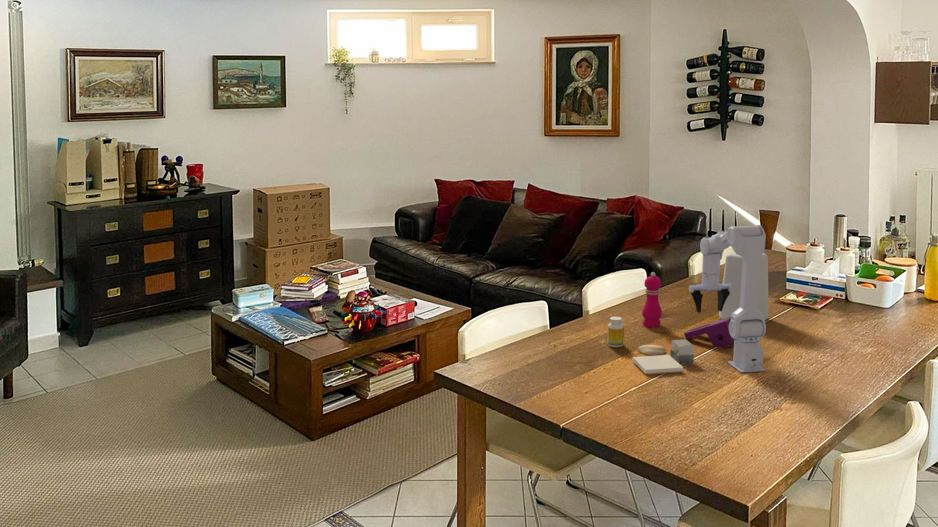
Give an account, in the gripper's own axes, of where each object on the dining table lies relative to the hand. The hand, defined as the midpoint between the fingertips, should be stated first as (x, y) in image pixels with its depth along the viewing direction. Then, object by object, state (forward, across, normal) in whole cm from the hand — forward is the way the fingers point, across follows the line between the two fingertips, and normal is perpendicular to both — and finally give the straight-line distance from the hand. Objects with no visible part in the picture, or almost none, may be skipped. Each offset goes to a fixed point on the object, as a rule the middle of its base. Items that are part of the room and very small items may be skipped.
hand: (709, 311), depth 279 cm
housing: (+10, +17, +19) cm, 27 cm away
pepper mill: (+10, +13, -20) cm, 26 cm away
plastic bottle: (+10, -23, -21) cm, 33 cm away
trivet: (+10, +27, +24) cm, 38 cm away
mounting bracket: (+11, 0, +2) cm, 11 cm away
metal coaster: (+10, +23, +8) cm, 26 cm away
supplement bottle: (+10, +33, 0) cm, 35 cm away
